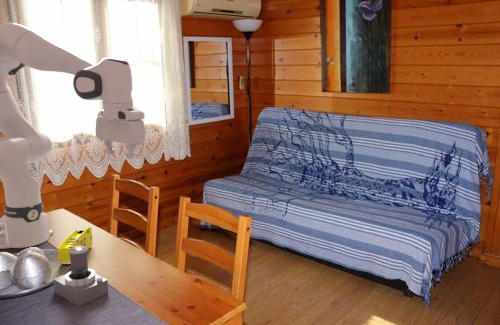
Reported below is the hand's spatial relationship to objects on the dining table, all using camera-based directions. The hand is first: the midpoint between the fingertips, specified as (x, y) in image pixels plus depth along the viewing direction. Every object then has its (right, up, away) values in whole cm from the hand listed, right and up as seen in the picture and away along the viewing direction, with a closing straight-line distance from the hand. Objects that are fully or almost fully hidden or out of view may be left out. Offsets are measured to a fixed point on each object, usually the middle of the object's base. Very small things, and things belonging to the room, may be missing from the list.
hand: (120, 155), depth 130 cm
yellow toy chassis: (-17, -34, +9) cm, 39 cm away
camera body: (-7, -39, -14) cm, 42 cm away
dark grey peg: (-6, -35, -15) cm, 38 cm away
